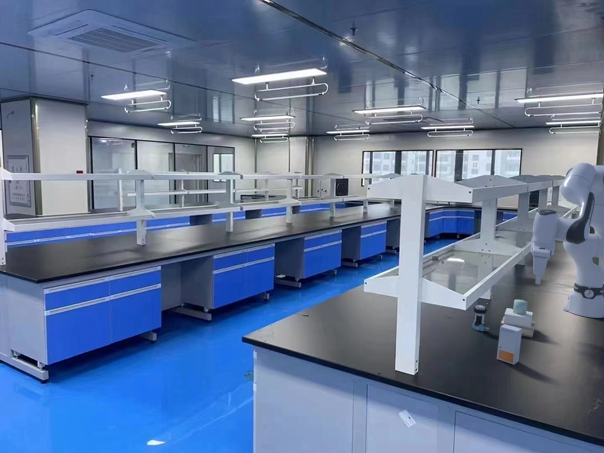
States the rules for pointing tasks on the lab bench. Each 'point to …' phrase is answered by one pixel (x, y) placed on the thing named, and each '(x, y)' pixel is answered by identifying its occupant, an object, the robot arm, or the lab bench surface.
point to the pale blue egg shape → (520, 307)
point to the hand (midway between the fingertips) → (538, 281)
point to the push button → (479, 318)
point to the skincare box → (509, 344)
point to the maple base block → (523, 328)
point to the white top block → (518, 318)
